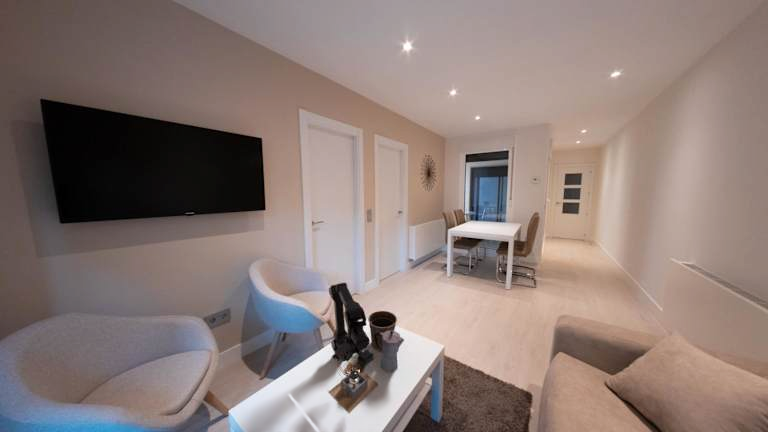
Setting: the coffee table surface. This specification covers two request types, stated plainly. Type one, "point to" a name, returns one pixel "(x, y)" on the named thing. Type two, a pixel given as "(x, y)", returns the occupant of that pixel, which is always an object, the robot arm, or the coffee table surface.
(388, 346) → the moka pot
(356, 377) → the plunger
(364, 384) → the press
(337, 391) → the board
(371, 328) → the plant pot
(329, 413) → the coffee table surface
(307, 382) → the coffee table surface
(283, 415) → the coffee table surface
